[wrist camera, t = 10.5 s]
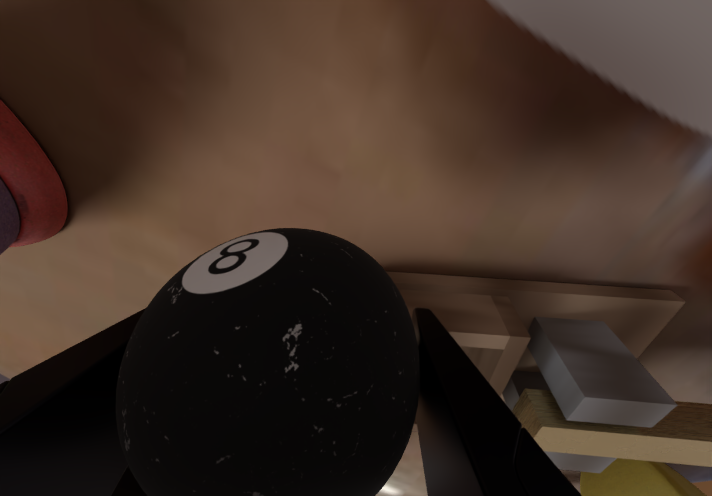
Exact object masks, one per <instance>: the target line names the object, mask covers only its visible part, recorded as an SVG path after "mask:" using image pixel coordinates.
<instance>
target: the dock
mask: <svg viewBox="0 0 712 496" xmlns="http://www.w3.org/2000/svg"><path fill="white" fill-rule="evenodd" d="M386 272H387V274H388V275H389V276H390V277H391V279H392V280H393V282H394V283H395V285H396V287H397V288H398V290H399V291H400V293H401V295H402V297H403V299H404V301H405V304H406V306H407V308H408V310H409V313H410V316H411V319H412V314H413V310H414V308H415V307H423V308H429V309H431V311H432V312H433V313H434V314H435V316H436V317H437V318H438V319H439V321H440V322H441V323H442V324H443V326H444V327H445V328H446V329H447V331H448V332H449V333H450V334H451V336H452V337H453V338H454V339H455V341H456V342H457V343H458V344H459V346H460V347H461V348H462V349H463V351H464V352H465V353H466V355H467V356H468V357H469V358H470V360H471V361H472V362H473V363H474V365H475V366H476V367H477V368H478V370H479V371H480V372H481V373H482V375H483V376H484V377H485V378H486V380H487V381H488V382H489V383H490V385H491V386H492V387H493V388H494V390H495V391H496V392H497V393H498V395H499V396H500V397H501V398H502V400H503V401H504V402H505V403H506V405H507V406H508V407H509V408H510V410H511V411H512V410H513V408H514V406H515V404H516V403H517V401H518V399H519V398H520V396H521V394H522V393H523V391H524V389H525V388H526V389H538V390H550V391H551V392H552V394H553V396H554V398H555V400H556V401H557V403H558V405H559V407H560V409H561V411H562V413H563V415H564V417H565V418H566V420H569V421H580V422H592V423H603V424H614V425H625V426H637V427H648V428H652V427H653V426H654V425H655V424H657V423H658V422H659V421H660V420H661V419H662V418H663V417H665V416H666V415H667V414H668V413H669V412H670V411H671V410H673V409H674V408H675V407H676V406H677V404H676V403H675V402H674V400H673V399H672V398H671V397H670V396H669V395H668V394H667V393H666V391H665V390H664V389H663V388H662V387H661V386H660V385H659V383H658V382H657V381H656V380H655V379H654V378H653V377H652V376H651V374H650V373H649V372H648V371H647V370H646V369H645V368H644V367H643V365H642V364H641V363H640V362H639V361H638V360H637V358H638V357H639V356H640V355H641V354H642V352H643V351H644V350H645V349H646V348H647V347H648V345H649V344H650V343H651V342H652V341H653V340H654V338H655V337H656V336H657V335H658V334H659V333H660V332H661V330H662V329H663V328H664V327H665V326H666V325H667V323H668V322H669V321H670V320H671V319H672V318H673V317H674V315H675V314H676V313H677V312H678V311H679V310H680V308H681V307H682V306H683V305H684V304H685V303H686V302H685V301H684V300H683V299H682V298H680V297H679V296H678V295H676V294H675V293H674V292H672V291H671V290H661V289H645V288H630V287H615V286H600V285H585V284H570V283H555V282H540V281H525V280H509V279H494V278H479V277H464V276H449V275H434V274H419V273H404V272H389V271H386ZM412 432H418V428H417V422H416V417H415V422H414V426H413V429H412ZM544 452H545V453H546V454H547V455H548V457H549V458H550V459H551V460H552V461H553V463H554V464H555V465H556V466H557V468H558V469H560V470H571V471H581V472H591V473H601V472H602V471H603V470H604V469H605V468H606V467H608V466H609V465H610V464H611V463H612V462H613V461H614V460H616V459H617V458H612V457H601V456H590V455H580V454H569V453H559V452H548V451H544Z"/></svg>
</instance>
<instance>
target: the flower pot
mask: <svg viewBox="0 0 712 496" xmlns="http://www.w3.org/2000/svg"><path fill="white" fill-rule="evenodd" d="M580 490H581V495H582V496H707V495H705V494H704V493H703V492H702V491H701V490H699V489H698V488H697V487H696V486H694V485H693V484H692V483H691V482H689V481H688V480H687V479H686V478H684V477H683V476H682V475H680V474H679V473H678V472H676V471H675V470H673V469H672V468H671V467H669V466H668V465H667V464H665V463H664V462H654V461H643V460H633V459H622V458H617V459H616V460H614V461H613V462H612V463H611V464H610V465H609V466H608V467H606V468H605V469H604V470H603V471H602V472H601V473H591V472H581V475H580Z"/></svg>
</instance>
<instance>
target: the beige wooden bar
mask: <svg viewBox="0 0 712 496" xmlns="http://www.w3.org/2000/svg"><path fill="white" fill-rule="evenodd" d="M674 402H675V403H676V404H677V406H676V407H675V408H674V409H673V410H671V411H670V412H669V413H668V414H667V415H666V416H665V417H663V418H662V419H661V420H660V421H659V422H658V423H657V424H655V425H654V426H653V427H652V428H648V427H637V426H625V425H614V424H603V423H592V422H580V421H569V420H566V418H565V417H564V415H563V413H562V411H561V409H560V407H559V405H558V403H557V401H556V400H555V398H554V396H553V394H552V392H551V391H550V390H538V389H526V388H525V389H524V391H523V393H522V394H521V396H520V398H519V399H518V401H517V403H516V404H515V406H514V408H513V410H512V412H513V413H514V415H515V416H516V417H517V418H518V420H519V421H520V422H521V424H522V428H523V427H524V428H526V430H527V431H528V432H529V433H530V435H531V436H532V437H533V438H534V440H535V441H536V442H537V443H538V445H539V446H540V447H541V448H542V449H543V451H548V452H559V453H569V454H580V455H590V456H601V457H612V458H622V459H633V460H643V461H654V462H665V463H675V464H686V465H696V466H707V467H712V404H704V403H692V402H680V401H674Z"/></svg>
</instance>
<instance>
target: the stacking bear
mask: <svg viewBox="0 0 712 496" xmlns="http://www.w3.org/2000/svg"><path fill="white" fill-rule="evenodd" d="M67 211H68V207H67V198H66V193H65V189H64V187H63V184H62V182H61V179H60V177H59V175H58V174H57V172H56V170H55V168H54V167H53V165H52V163H51V162H50V160H49V159H48V157H47V156H46V154H45V153H44V151H43V150H42V149H41V147H40V146H39V144H38V143H37V142H36V140H35V139H34V138H33V137H32V135H31V134H30V133H29V131H28V130H27V129H26V128H25V127H24V126H23V124H22V123H21V122H20V121H19V120H18V119H17V117H16V116H15V115H14V114H13V113H12V112H11V110H10V109H9V108H8V107H7V106H6V105H5V104H4V103H3V102H2V101H1V100H0V254H1V253H3V252H4V251H5V250H6V249H7V248H8V247H16V246H24V245H28V244H33V243H36V242H40V241H43V240H45V239H48V238H50V237H52V236H53V235H55V234H56V233H58V231H59V230H60V229H61V228H62V227H63V225H64V223H65V220H66V217H67Z"/></svg>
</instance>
